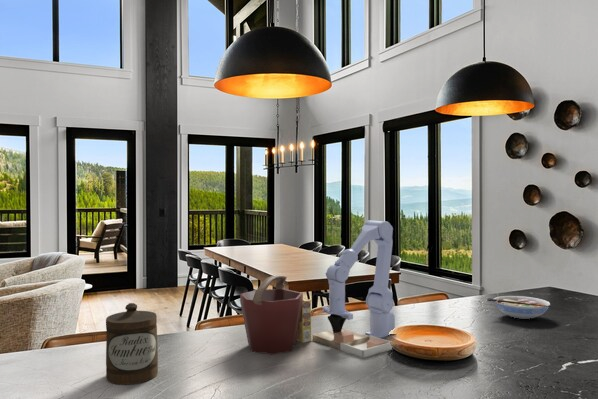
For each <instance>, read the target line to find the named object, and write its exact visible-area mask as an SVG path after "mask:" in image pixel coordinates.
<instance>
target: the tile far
mask: <svg viewBox="0 0 598 399" xmlns="http://www.w3.org/2000/svg"><path fill="white" fill-rule="evenodd" d="M334 340H335V341H338V342H341V343H347V342H351V341H354V334H352V333H349V332H346V331H341V332H337V333H334Z"/></svg>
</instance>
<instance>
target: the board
mask: <svg viewBox="0 0 598 399" xmlns="http://www.w3.org/2000/svg"><path fill="white" fill-rule="evenodd" d="M341 331H346V332H349V333H352V334H354V341H351V342H347V343H345V344H348V345H350V346H353V345H357V344H360V343H364V342H367V341H369V335H368V334H365V333H360V332H357V331H354V330H352V329H347V328H344V327H342V330H341ZM311 341H315V342H317V343H320V344H323V345H325V346H329V347H331V348H334V349H337V350H339V351H341V350H340V343H341V342H338V341H335V340H334V334H333V330H332V329H331V330H326V331H322V332H318V333H313V334H311Z"/></svg>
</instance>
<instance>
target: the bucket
mask: <svg viewBox="0 0 598 399" xmlns="http://www.w3.org/2000/svg"><path fill="white" fill-rule="evenodd" d="M287 277H288V276H284V275H271V276H269V277H268V276H267V277H266V278H265V279H264V280H263V281H262V282H261V284H260V285H259V286H258V288H256V289H254V290H251V291H247V292H243V293H240V294H239V295H240V296H239V299H240V300H239V301H240V307H241V312H242V313H241V314H242V318H243V323H244V329H245V333H246V334H245V335H246V340H247V345H248V347H249V349H250V350H251V352H253V353H260V354H267V355H268V354H269V355H275V354H280V353H287V352H291V351H292V350H293V349H294V347H295V345H296V341H297V340H296V336H297V331H298V325H299V320H300V314H301V309H302V303H303V298H304V293H303V292H299V291H295V290H291V289H286V287H285V282H286V280H287ZM276 279H277V281H276V283H275V288H269V289H268V287H270V285H271V283H273V281H275V280H276Z"/></svg>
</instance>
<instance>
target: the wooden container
mask: <svg viewBox="0 0 598 399" xmlns="http://www.w3.org/2000/svg"><path fill="white" fill-rule="evenodd" d="M137 309H138V304H136V303H134V302H130V303H128V304H126V306H125V310H126V311H122V312H121V311H120V312H117V313H113V314H111V315H109V316H107V317H106V319H105V330H106V336H105V337H106V338H105V339H106V342H105V343H106V345H105V348H106V349H105V355H106V356H105V372H106V373H105V377H106V381H107V382H109V383H111V384H115V385H120V384H121V385H124V386H125V385H127V384H128V385H136V384H140V383H145V382H148V381H150V380H152V379H154V378H155V377H156V376H157V375H158V371H159V369H158V368H159V367H158V366H159V362H158V361H159V356H158V353H159V352H158V351H159V350H158V349H159V348H158V325H157V323H158V321H157V320H158V318H157V313H155V312H154V311H148V310H137Z"/></svg>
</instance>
